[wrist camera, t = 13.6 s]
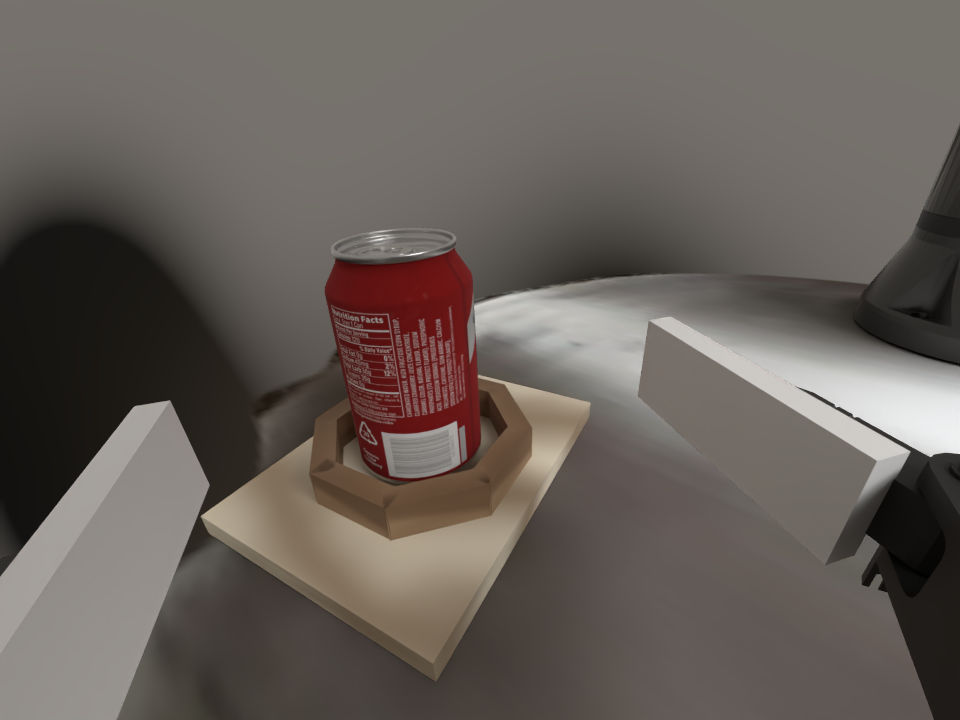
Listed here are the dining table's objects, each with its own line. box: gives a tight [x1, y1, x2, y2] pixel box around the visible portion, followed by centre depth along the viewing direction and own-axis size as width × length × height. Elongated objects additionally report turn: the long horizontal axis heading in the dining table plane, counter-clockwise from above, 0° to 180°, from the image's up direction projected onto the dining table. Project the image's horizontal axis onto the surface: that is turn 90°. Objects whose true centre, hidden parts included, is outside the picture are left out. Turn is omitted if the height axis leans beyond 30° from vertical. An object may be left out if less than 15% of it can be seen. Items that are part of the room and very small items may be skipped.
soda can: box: [325, 228, 481, 484], centre depth 22 cm, size 7×7×12 cm
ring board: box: [201, 375, 590, 682], centre depth 25 cm, size 18×14×3 cm
